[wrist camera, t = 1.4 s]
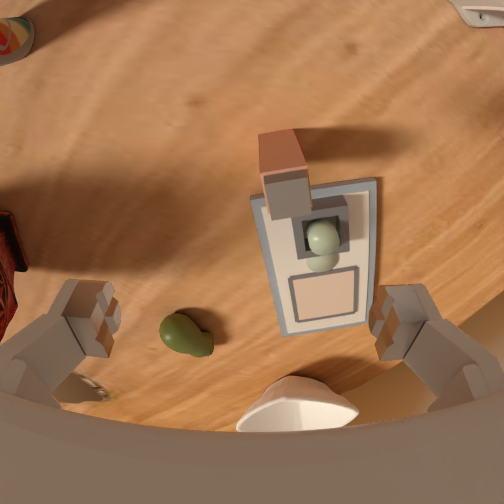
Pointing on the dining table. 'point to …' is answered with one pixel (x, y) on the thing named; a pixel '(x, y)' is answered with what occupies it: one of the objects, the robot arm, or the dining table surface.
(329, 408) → the bowl
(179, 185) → the dining table surface
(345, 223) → the button housing
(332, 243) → the button
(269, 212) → the terracotta rectangular block
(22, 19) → the lotion bottle
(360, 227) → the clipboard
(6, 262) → the vase
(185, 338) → the pear
